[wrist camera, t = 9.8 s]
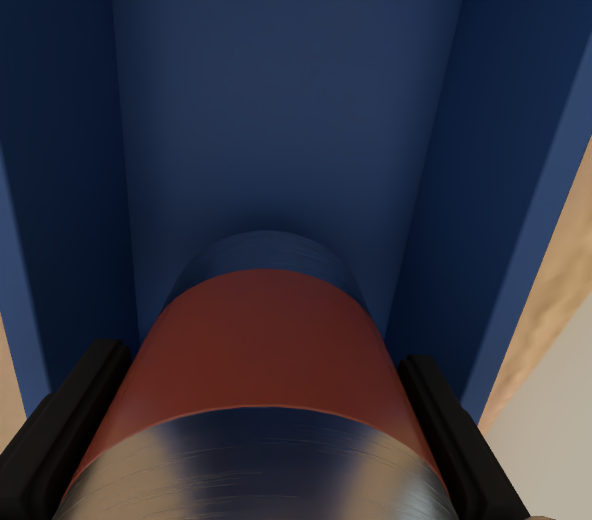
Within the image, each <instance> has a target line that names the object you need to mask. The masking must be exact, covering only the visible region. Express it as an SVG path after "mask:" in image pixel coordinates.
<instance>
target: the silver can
mask: <svg viewBox="0 0 592 520" xmlns="http://www.w3.org/2000/svg"><path fill="white" fill-rule="evenodd" d="M52 520H459V518H458V516H457V514H456V511H455V509H454V507H453V504H452V502H451V499H450V496H449V493H448V489H447V487H446V485H445V482H444V480H443V478H442V476H441V473H440V471H439V469H438V466H437V464H436V462H435V459H434V457H433V455H432V452H431V450H430V448H429V445H428V443H427V441H426V438H425V436H424V434H423V432H422V429H421V427H420V425H419V422H418V420H417V418H416V415H415V413H414V411H413V408H412V406H411V404H410V401H409V399H408V397H407V395H406V392H405V390H404V388H403V385H402V383H401V381H400V378H399V376H398V374H397V371H396V369H395V367H394V364H393V362H392V360H391V358H390V355H389V353H388V351H387V348H386V346H385V344H384V341H383V339H382V337H381V334H380V332H379V331H378V329H377V327H376V325H375V322H374V320H373V318H372V315H371V313H370V311H369V308H368V306H367V304H366V301H365V299H364V297H363V294H362V292H361V290H360V287H359V285H358V283H357V281H356V279H355V277H354V276H353V274H352V272H351V271H350V270H349V268H348V267H347V266H346V264H345V263H344V262H343V261H342V260H341V259H340V258H339V257H338V256H337V255H335V254H334V253H333V252H331V251H330V250H329V249H328V248H326V247H324V246H323V245H321V244H319V243H317V242H316V241H313V240H311V239H308V238H306V237H304V236H300V235H297V234H293V233H289V232H282V231H275V230H259V231H250V232H244V233H240V234H236V235H232V236H229V237H227V238H224V239H221V240H219V241H217V242H215V243H213V244H212V245H210V246H208V247H207V248H205V249H204V250H202V251H201V252H200V253H198V254H197V255H196V256H195V257H194V258H193V259H192V260H191V261H190V262H189V263H188V264H187V265H186V266H185V268H184V269H183V270H182V272H181V273H180V275H179V276H178V278H177V280H176V282H175V284H174V286H173V288H172V289H171V291H170V293H169V295H168V297H167V299H166V301H165V303H164V305H163V307H162V309H161V311H160V313H159V314H158V316H157V318H156V320H155V321H154V323H153V325H152V327H151V329H150V330H149V332H148V334H147V336H146V338H145V340H144V342H143V343H142V345H141V347H140V349H139V351H138V353H137V355H136V357H135V359H134V361H133V363H132V365H131V366H130V368H129V370H128V372H127V374H126V376H125V378H124V380H123V382H122V384H121V386H120V388H119V389H118V391H117V393H116V395H115V397H114V399H113V401H112V403H111V405H110V407H109V409H108V410H107V412H106V414H105V416H104V418H103V420H102V422H101V424H100V426H99V428H98V430H97V432H96V433H95V435H94V437H93V439H92V441H91V443H90V445H89V447H88V449H87V451H86V453H85V454H84V456H83V458H82V460H81V462H80V464H79V466H78V468H77V470H76V472H75V474H74V476H73V477H72V479H71V481H70V483H69V485H68V487H67V489H66V491H65V493H64V495H63V497H62V499H61V501H60V504H59V507H58V509H57V511H56V513H55V515H54V517H53V519H52Z"/></svg>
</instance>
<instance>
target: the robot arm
mask: <svg viewBox="0 0 592 520" xmlns="http://www.w3.org/2000/svg"><path fill="white" fill-rule="evenodd" d="M131 365H132V361H131V351H130V347H129V346H124V345H123V342H122V340H120V339H101V338H97V339H95V340H94V341H93V342H92V344H91V345H90V346H89V348H88V349H87V351H86V352H85V353H84V355H83V356H82V358H81V359H80V360H79V362H78V363H77V364H76V366H75V367H74V369H73V370H72V371H71V373H70V374H69V375H68V377H67V378H66V380H65V381H64V382H63V384H62V385H61V386H60V388H59V389H58V391H57V392H56V393H52V392H51V393H50V394H48V395H46V396H45V397H44V398H43V399H42V401H41V402H40V403H39V405H38V406H37V407H36V409H35V410H34V411H33V412H32V414H31V415H30V416H29V418H28V419H27V420H26V422H25V423H24V424H23V426H22V427H21V428H20V430H19V431H18V432H17V434H16V435H15V436H14V438H13V439H12V440H11V442H10V443H9V444H8V446H7V447H6V448H5V450H4V451H3V452H2V454H1V455H0V520H52V519H53V517H54V515H55V513H56V511H57V509H58V507H59V504H60V501H61V499H62V497H63V495H64V493H65V491H66V489H67V487H68V485H69V483H70V481H71V479H72V477H73V476H74V474H75V472H76V470H77V468H78V466H79V464H80V462H81V460H82V458H83V456H84V454H85V453H86V451H87V449H88V447H89V445H90V443H91V441H92V439H93V437H94V435H95V433H96V432H97V430H98V428H99V426H100V424H101V422H102V420H103V418H104V416H105V414H106V412H107V410H108V409H109V407H110V405H111V403H112V401H113V399H114V397H115V395H116V393H117V391H118V389H119V388H120V386H121V384H122V382H123V380H124V378H125V376H126V374H127V372H128V370H129V368H130V366H131ZM397 374H398V376H399V378H400V381H401V383H402V385H403V388H404V390H405V392H406V395H407V397H408V399H409V401H410V404H411V406H412V408H413V411H414V413H415V415H416V418H417V420H418V422H419V425H420V427H421V429H422V432H423V434H424V436H425V438H426V441H427V443H428V445H429V448H430V450H431V452H432V455H433V457H434V459H435V462H436V464H437V466H438V469H439V471H440V473H441V476H442V478H443V480H444V482H445V485H446V487H447V489H448V493H449V496H450V499H451V502H452V504H453V507H454V509H455V511H456V514H457V516H458V518H459V520H555V519H551V518H548V517H544V516H530V514H529V512H528V511H527V509H526V507H525V506H524V504H523V502H522V501H521V499H520V497H519V496H518V494H517V493H516V491H515V489H514V487H513V486H512V484H511V482H510V481H509V479H508V477H507V476H506V474H505V473H504V471H503V469H502V467H501V466H500V464H499V462H498V461H497V459H496V457H495V456H494V454H493V452H492V451H491V449H490V447H489V446H488V444H487V442H486V441H485V439H484V437H483V436H482V434H481V432H480V431H479V429H478V427H477V426H476V424H475V422H474V421H473V419H472V417H471V416H470V414H469V413H468V412H467V411H466V410H464V409H463V408H462V406H461V404H460V403H459V401H458V399H457V398H456V396H455V394H454V393H453V391H452V389H451V388H450V386H449V384H448V382H447V381H446V379H445V377H444V376H443V374H442V372H441V371H440V369H439V367H438V365H437V364H436V362H435V360H434V359H433V357H432V356H430V355H416V354H409V355H407V357H406V359H405V360H404V359H402V360H400V362H399V365H398V369H397Z"/></svg>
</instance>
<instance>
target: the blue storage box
mask: <svg viewBox="0 0 592 520" xmlns="http://www.w3.org/2000/svg"><path fill="white" fill-rule="evenodd" d="M591 135H592V0H0V312H1V316H2V320H3V324H4V329H5V333H6V337H7V341H8V345H9V349H10V353H11V357H12V361H13V365H14V369H15V373H16V377H17V381H18V385H19V389H20V393H21V397H22V401H23V405H24V409H25V413H26V417H27V419H28V418H29V416H30V415H31V414H32V412H33V411H34V410H35V409H36V407H37V406H38V405H39V403H40V402H41V401H42V399H43V398H44V397H45V396H46V395H48V394H50V393H51V392H52V393H56V392H57V391H58V389H59V388H60V386H61V385H62V384H63V382H64V381H65V380H66V378H67V377H68V375H69V374H70V373H71V371H72V370H73V369H74V367H75V366H76V364H77V363H78V362H79V360H80V359H81V358H82V356H83V355H84V353H85V352H86V351H87V349H88V348H89V346H90V345H91V344H92V342H93V341H94V340H95V339H97V338H101V339H120V340H122V342H123V345H124V346H129V347H130V351H131V361H132V363H133V361H134V359H135V357H136V355H137V353H138V351H139V349H140V347H141V345H142V343H143V342H144V340H145V338H146V336H147V334H148V332H149V330H150V329H151V327H152V325H153V323H154V321H155V320H156V318H157V316H158V314H159V313H160V311H161V309H162V307H163V305H164V303H165V301H166V299H167V297H168V295H169V293H170V291H171V289H172V288H173V286H174V284H175V282H176V280H177V278H178V276H179V275H180V273H181V272H182V270H183V269H184V268H185V266H186V265H187V264H188V263H189V262H190V261H191V260H192V259H193V258H194V257H195V256H196V255H197V254H198V253H200V252H201V251H202V250H204V249H205V248H207V247H208V246H210V245H212V244H213V243H215V242H217V241H219V240H221V239H224V238H227V237H229V236H232V235H236V234H240V233H244V232H250V231H259V230H275V231H282V232H289V233H293V234H297V235H300V236H304V237H306V238H308V239H311V240H313V241H316V242H317V243H319V244H321V245H323V246H324V247H326V248H328V249H329V250H330V251H331V252H333V253H334V254H335V255H337V256H338V257H339V258H340V259H341V260H342V261H343V262H344V263H345V264H346V266H347V267H348V268H349V270H350V271H351V272H352V274H353V276H354V277H355V279H356V281H357V283H358V285H359V287H360V290H361V292H362V294H363V297H364V299H365V301H366V304H367V306H368V308H369V311H370V313H371V315H372V318H373V320H374V322H375V325H376V327H377V329H378V331H379V332H380V334H381V337H382V339H383V341H384V344H385V346H386V348H387V351H388V353H389V355H390V358H391V360H392V362H393V364H394V367H395V369H396V371H397V369H398V365H399V362H400V360H402V359H404V360H405V359H406V357H407V355H409V354H416V355H430V356H432V357H433V359H434V360H435V362H436V364H437V365H438V367H439V369H440V371H441V372H442V374H443V376H444V377H445V379H446V381H447V382H448V384H449V386H450V388H451V389H452V391H453V393H454V394H455V396H456V398H457V399H458V401H459V403H460V404H461V406H462V408H463V409H464V410H466V411H467V412H468V413H469V414H470V416H471V417H472V419H473V421H474V422H475V424H476V426H477V425H478V423H479V420H480V418H481V415H482V413H483V410H484V408H485V405H486V402H487V400H488V397H489V395H490V392H491V390H492V387H493V385H494V382H495V380H496V377H497V374H498V372H499V369H500V367H501V364H502V362H503V359H504V357H505V354H506V352H507V349H508V346H509V344H510V341H511V339H512V336H513V334H514V331H515V329H516V326H517V323H518V321H519V318H520V316H521V313H522V311H523V308H524V306H525V303H526V301H527V298H528V295H529V293H530V290H531V288H532V285H533V283H534V280H535V278H536V275H537V273H538V270H539V267H540V265H541V262H542V260H543V257H544V255H545V252H546V250H547V247H548V245H549V242H550V239H551V237H552V234H553V232H554V229H555V227H556V224H557V222H558V219H559V216H560V214H561V211H562V209H563V206H564V204H565V201H566V199H567V196H568V194H569V191H570V188H571V186H572V183H573V181H574V178H575V176H576V173H577V171H578V168H579V166H580V163H581V160H582V158H583V155H584V153H585V150H586V148H587V145H588V143H589V140H590V137H591Z"/></svg>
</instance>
